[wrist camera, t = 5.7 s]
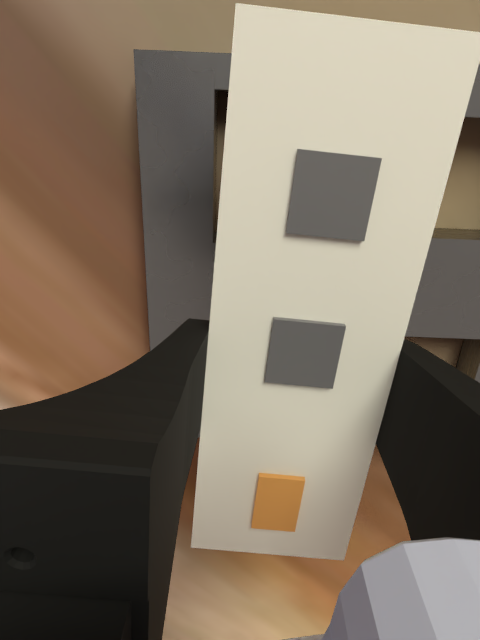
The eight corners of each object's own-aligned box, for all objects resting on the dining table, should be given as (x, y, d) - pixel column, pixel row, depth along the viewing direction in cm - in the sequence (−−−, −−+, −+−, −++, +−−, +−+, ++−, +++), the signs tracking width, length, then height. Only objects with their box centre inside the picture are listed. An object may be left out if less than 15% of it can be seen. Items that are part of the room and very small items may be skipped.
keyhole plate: (161, 413, 22) (155, 435, 20) (144, 54, 15) (133, 49, 14) (532, 428, 22) (553, 451, 20) (671, 76, 15) (715, 73, 14)
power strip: (205, 436, 17) (190, 552, 13) (239, 50, 12) (235, 0, 8) (318, 446, 17) (344, 564, 13) (397, 68, 12) (492, 31, 8)
